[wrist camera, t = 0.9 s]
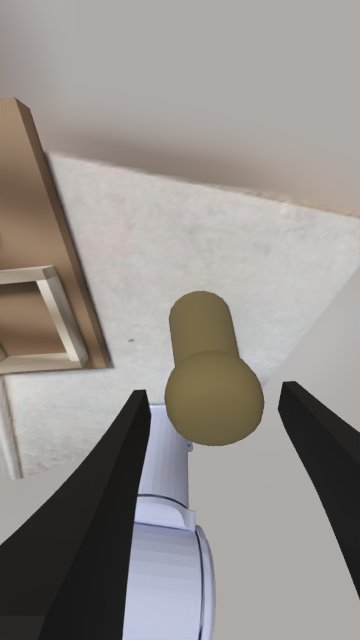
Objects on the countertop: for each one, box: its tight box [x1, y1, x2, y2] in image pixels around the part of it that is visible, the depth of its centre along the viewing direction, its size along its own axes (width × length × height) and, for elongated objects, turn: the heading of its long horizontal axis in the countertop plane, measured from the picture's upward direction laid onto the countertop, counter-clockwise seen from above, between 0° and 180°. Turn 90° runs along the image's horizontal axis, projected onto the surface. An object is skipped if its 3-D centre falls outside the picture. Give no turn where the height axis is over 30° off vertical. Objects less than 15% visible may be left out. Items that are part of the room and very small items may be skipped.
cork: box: [164, 291, 264, 446], centre depth 14 cm, size 6×6×11 cm
